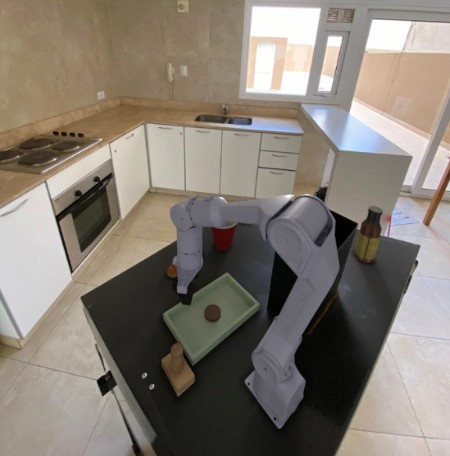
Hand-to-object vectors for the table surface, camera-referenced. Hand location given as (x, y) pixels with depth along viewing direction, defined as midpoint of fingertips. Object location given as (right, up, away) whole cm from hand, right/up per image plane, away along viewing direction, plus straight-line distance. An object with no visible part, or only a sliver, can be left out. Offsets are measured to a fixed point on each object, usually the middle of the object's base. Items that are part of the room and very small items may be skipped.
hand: (190, 289), depth 63 cm
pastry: (-5, -3, +18) cm, 19 cm away
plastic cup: (+8, 0, +29) cm, 30 cm away
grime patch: (+5, -9, +4) cm, 11 cm away
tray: (+5, -9, +4) cm, 11 cm away
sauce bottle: (+58, -3, +27) cm, 64 cm away
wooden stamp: (-2, -14, -8) cm, 16 cm away
